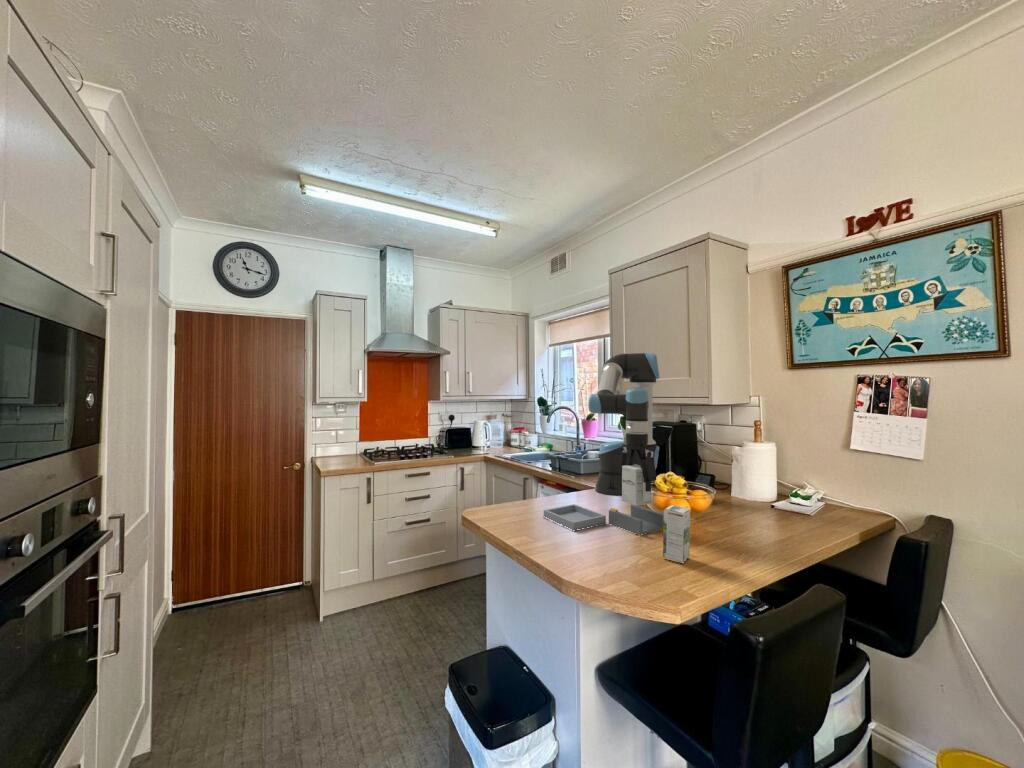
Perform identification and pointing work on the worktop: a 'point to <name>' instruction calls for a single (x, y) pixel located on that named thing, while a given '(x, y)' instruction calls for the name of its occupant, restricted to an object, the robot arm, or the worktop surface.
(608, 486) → the robot arm
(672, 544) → the syrup box
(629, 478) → the supplement box
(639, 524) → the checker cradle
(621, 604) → the worktop surface
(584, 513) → the tray
